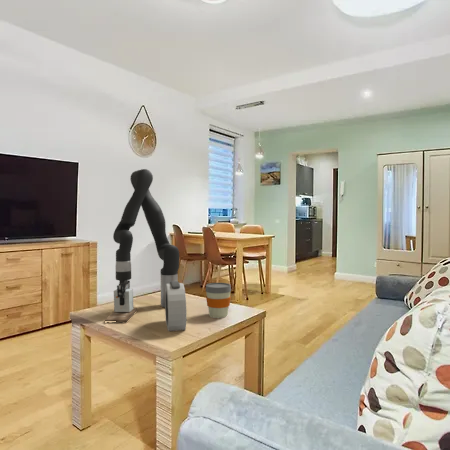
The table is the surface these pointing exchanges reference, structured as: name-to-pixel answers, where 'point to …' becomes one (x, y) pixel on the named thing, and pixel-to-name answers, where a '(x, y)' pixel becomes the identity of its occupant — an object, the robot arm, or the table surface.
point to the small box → (127, 299)
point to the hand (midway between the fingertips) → (123, 303)
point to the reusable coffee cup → (218, 299)
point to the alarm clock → (175, 306)
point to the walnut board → (121, 316)
